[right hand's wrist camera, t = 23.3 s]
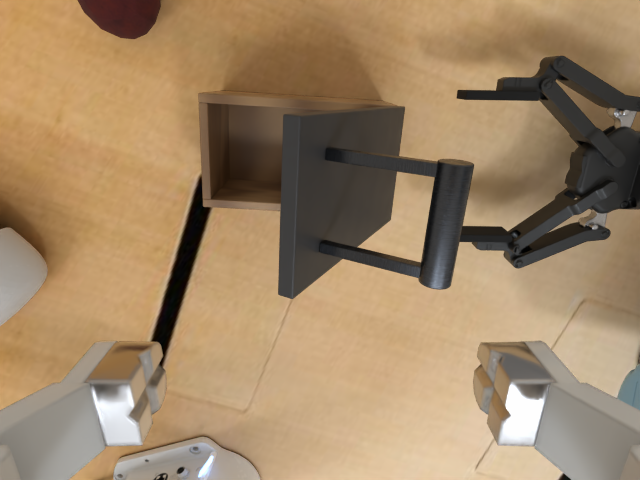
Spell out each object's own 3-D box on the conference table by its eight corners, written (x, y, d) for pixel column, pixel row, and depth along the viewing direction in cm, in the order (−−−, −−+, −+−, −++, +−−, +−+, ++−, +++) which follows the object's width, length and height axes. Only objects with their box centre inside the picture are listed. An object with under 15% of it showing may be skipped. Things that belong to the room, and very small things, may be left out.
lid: (277, 295, 24) (431, 344, 20) (282, 113, 20) (470, 133, 17) (380, 218, 39) (479, 238, 35) (393, 105, 36) (506, 115, 32)
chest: (224, 183, 48) (202, 206, 39) (222, 90, 44) (197, 93, 35) (373, 192, 48) (384, 217, 39) (383, 100, 45) (398, 105, 36)
